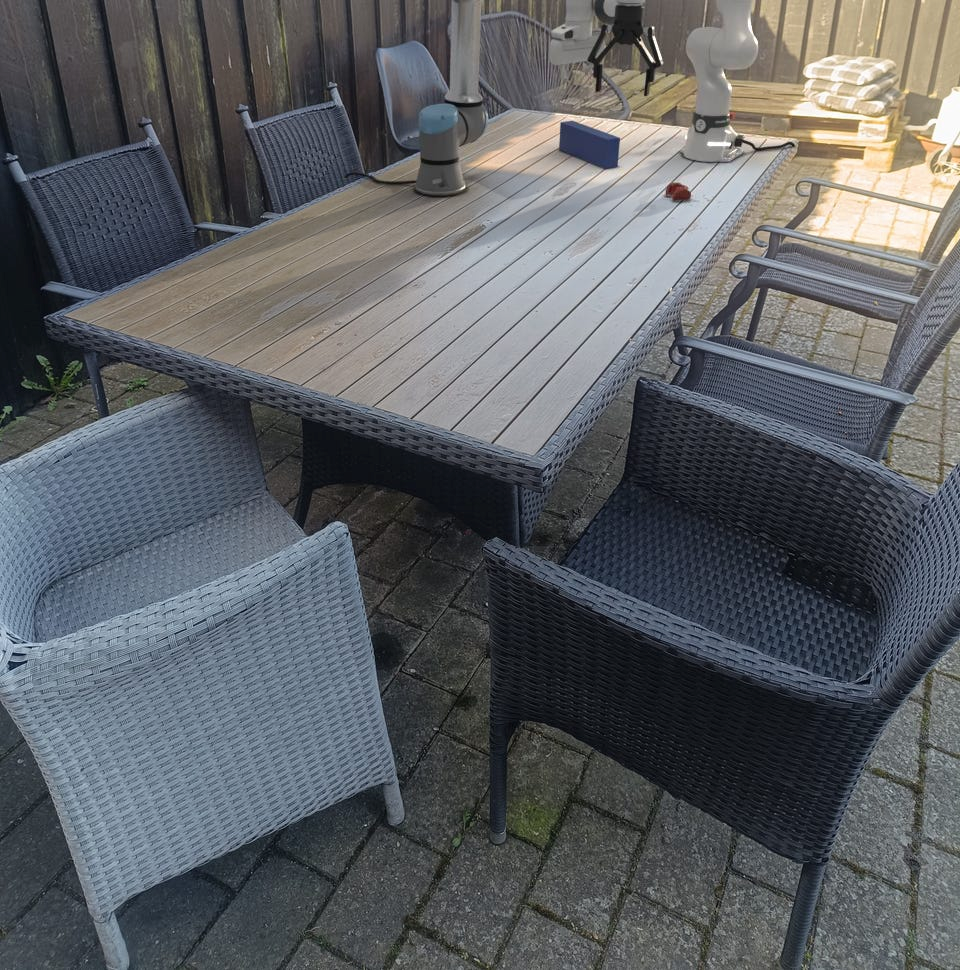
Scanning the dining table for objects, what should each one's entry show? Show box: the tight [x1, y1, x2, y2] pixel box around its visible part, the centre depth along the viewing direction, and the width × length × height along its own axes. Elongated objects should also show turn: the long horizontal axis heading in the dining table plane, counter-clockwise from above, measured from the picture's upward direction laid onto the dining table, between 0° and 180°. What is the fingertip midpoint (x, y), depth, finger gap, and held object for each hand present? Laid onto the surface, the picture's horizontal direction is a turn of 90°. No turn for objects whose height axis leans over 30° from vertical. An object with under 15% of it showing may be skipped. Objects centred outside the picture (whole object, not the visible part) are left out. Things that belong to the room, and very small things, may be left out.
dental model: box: [665, 181, 692, 202], centre depth 251 cm, size 6×4×8 cm
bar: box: [558, 120, 621, 170], centre depth 286 cm, size 28×5×9 cm, turn 29°
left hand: (622, 93), depth 230 cm, fingers open, 13 cm apart
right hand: (576, 76), depth 281 cm, fingers open, 8 cm apart
